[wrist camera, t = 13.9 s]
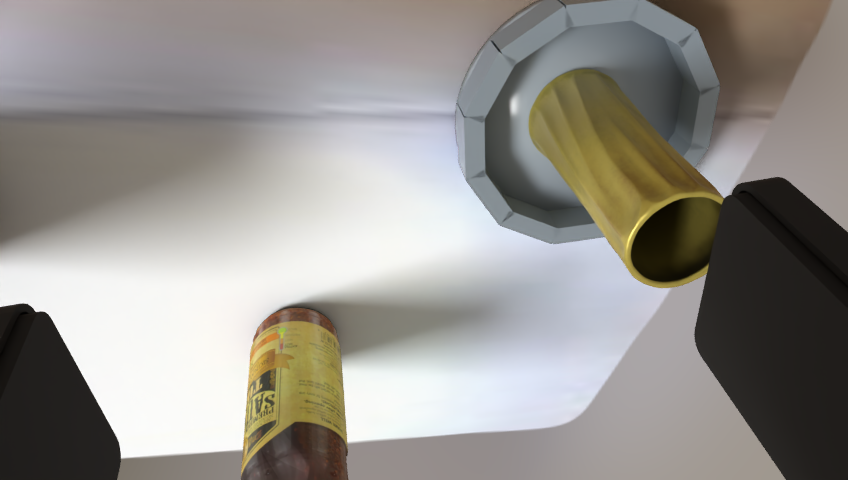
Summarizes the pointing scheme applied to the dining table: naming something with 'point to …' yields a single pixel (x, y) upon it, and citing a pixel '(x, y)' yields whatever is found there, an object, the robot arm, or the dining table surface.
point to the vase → (627, 178)
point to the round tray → (553, 56)
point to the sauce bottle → (295, 401)
